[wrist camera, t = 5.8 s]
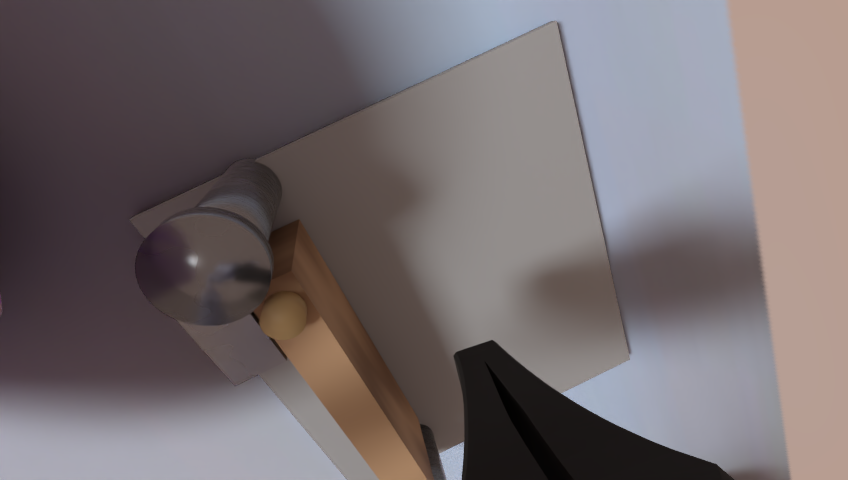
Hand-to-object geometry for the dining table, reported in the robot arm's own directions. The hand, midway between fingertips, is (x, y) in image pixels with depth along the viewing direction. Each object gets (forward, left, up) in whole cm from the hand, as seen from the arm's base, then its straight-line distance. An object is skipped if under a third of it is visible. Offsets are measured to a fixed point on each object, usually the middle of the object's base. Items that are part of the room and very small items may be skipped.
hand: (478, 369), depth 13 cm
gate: (-4, 0, -5) cm, 6 cm away
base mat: (0, -1, -5) cm, 5 cm away
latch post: (-5, +6, -5) cm, 9 cm away
